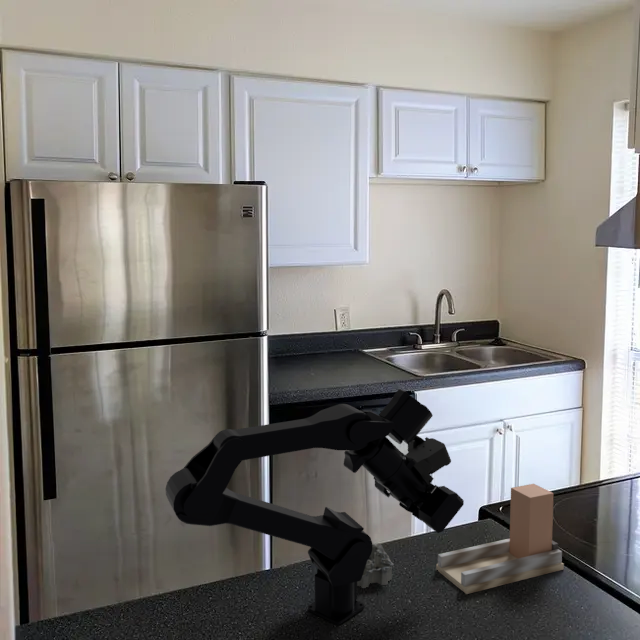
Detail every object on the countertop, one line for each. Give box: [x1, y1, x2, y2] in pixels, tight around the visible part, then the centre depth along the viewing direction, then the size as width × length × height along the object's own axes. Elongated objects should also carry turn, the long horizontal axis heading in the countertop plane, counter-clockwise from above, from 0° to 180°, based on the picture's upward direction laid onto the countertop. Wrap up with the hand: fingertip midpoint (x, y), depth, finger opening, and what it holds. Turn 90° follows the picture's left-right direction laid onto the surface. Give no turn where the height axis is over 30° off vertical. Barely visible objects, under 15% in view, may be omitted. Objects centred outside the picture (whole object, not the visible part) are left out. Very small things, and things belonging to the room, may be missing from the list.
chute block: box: [509, 483, 554, 559], centre depth 116 cm, size 5×5×12 cm
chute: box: [435, 537, 565, 595], centre depth 114 cm, size 20×9×4 cm, turn 113°
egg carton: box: [357, 543, 395, 589], centre depth 114 cm, size 11×8×4 cm
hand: (446, 522), depth 109 cm, fingers closed
